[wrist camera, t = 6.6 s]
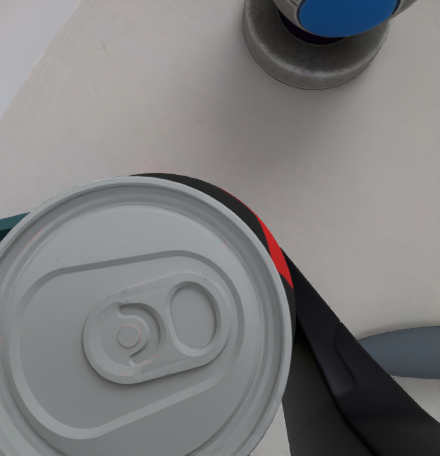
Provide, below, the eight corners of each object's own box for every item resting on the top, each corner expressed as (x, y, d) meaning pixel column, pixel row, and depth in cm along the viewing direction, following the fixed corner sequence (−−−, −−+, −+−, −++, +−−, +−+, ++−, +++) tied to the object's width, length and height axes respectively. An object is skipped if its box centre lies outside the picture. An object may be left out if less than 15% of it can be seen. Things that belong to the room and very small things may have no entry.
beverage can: (132, 237, 16) (-111, 197, 4) (230, 209, 16) (265, 97, 4) (158, 338, 16) (-36, 623, 4) (259, 308, 16) (386, 487, 4)
